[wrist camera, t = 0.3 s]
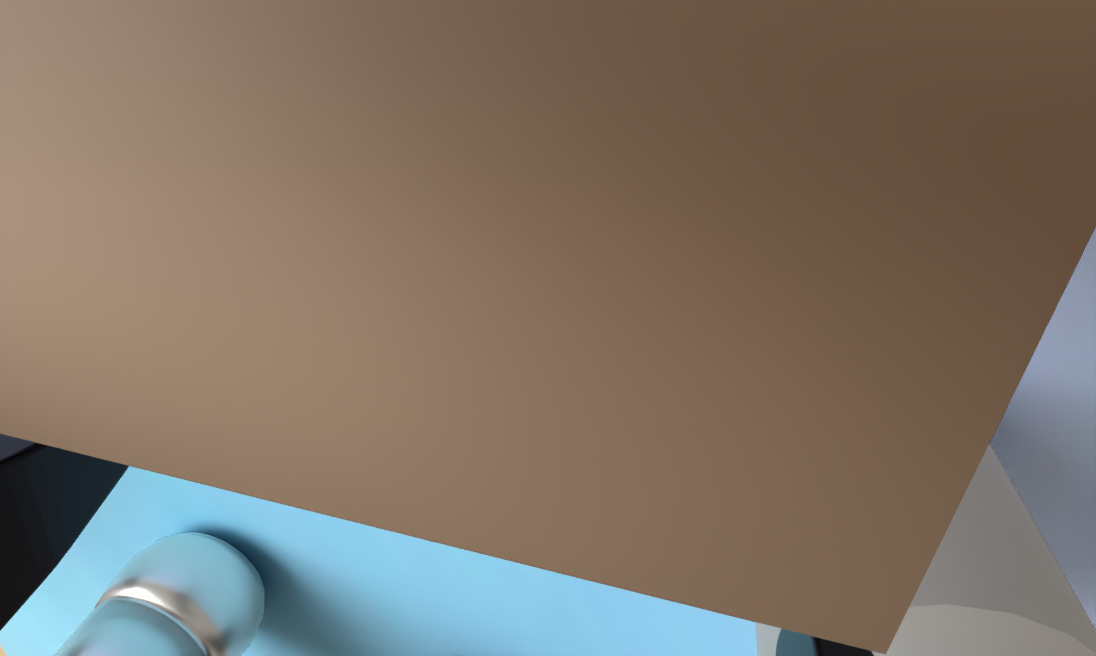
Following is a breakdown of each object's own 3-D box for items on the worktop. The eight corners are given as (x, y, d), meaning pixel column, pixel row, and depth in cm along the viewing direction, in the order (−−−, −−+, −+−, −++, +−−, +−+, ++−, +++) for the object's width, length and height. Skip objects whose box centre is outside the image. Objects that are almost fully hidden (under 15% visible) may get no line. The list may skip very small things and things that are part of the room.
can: (714, 400, 25) (708, 710, 14) (943, 326, 22) (1142, 646, 12) (792, 557, 27) (836, 925, 17) (1009, 509, 24) (1226, 915, 14)
